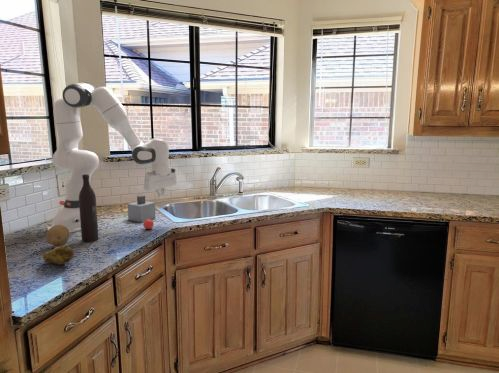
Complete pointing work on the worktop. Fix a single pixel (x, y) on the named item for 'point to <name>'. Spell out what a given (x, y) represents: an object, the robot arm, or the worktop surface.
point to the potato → (59, 255)
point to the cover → (141, 210)
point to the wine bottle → (88, 211)
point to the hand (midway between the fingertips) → (160, 196)
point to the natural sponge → (57, 235)
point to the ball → (148, 224)
